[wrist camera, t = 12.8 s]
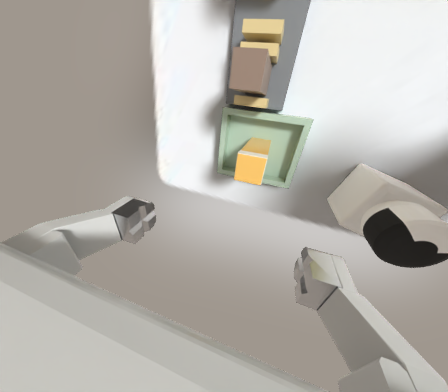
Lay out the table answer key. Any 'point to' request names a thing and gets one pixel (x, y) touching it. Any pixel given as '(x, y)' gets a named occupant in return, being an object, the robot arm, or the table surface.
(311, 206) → the table surface
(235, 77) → the holder
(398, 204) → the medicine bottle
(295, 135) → the tray
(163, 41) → the table surface
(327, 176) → the table surface
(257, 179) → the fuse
